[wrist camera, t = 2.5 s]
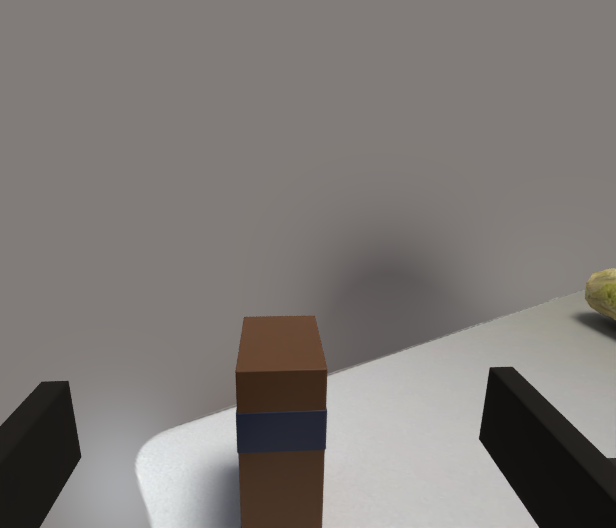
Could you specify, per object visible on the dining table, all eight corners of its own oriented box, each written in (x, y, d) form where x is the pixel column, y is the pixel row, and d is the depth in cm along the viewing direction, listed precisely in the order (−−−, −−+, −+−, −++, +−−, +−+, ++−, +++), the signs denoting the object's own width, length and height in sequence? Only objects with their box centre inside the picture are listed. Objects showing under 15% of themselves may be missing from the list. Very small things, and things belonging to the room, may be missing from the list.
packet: (322, 544, 24) (328, 369, 21) (240, 549, 23) (234, 372, 20) (312, 459, 30) (315, 314, 27) (247, 462, 30) (243, 316, 26)
